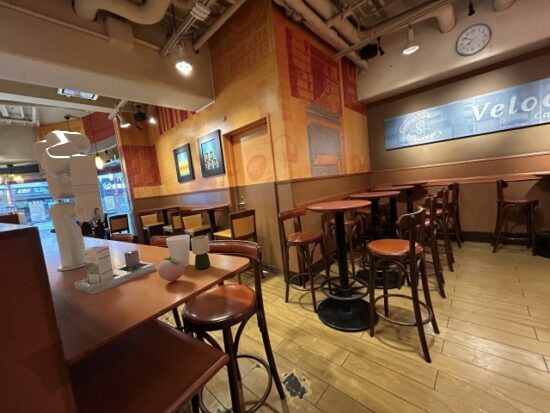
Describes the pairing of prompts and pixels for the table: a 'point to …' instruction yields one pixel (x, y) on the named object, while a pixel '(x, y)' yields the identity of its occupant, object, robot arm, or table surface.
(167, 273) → the decorative fruit
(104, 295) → the table surface
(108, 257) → the syrup box
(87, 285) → the hole plate
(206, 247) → the character mug
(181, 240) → the foam cup
